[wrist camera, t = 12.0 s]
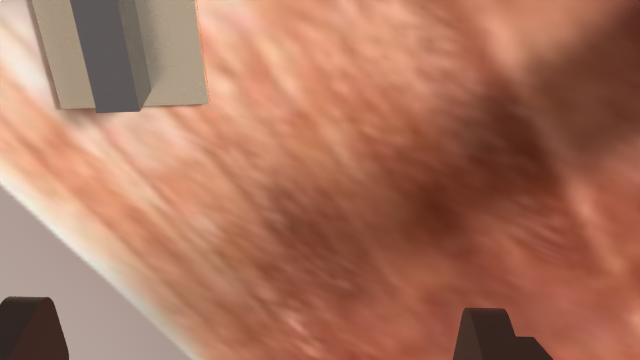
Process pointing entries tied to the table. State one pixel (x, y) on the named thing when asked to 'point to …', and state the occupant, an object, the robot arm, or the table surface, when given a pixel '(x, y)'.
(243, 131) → the table surface
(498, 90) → the table surface
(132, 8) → the rail
